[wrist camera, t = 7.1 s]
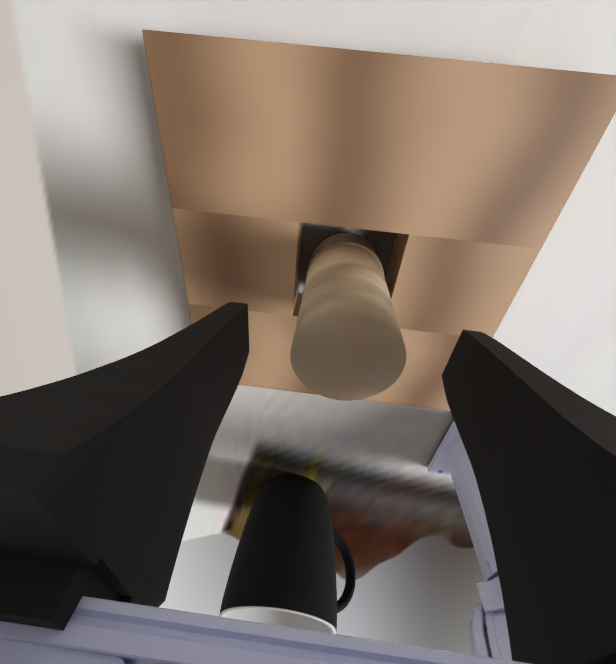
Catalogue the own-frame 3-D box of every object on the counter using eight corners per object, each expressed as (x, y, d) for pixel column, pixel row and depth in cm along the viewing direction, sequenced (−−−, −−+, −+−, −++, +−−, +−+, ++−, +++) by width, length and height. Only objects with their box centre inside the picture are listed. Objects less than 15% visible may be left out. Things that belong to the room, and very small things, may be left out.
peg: (386, 232, 15) (426, 320, 8) (369, 295, 17) (388, 408, 10) (315, 221, 15) (294, 300, 8) (306, 286, 17) (284, 392, 10)
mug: (236, 492, 32) (200, 621, 24) (278, 455, 27) (252, 598, 19) (327, 529, 35) (324, 654, 27) (378, 501, 30) (394, 642, 22)
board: (581, 86, 11) (634, 77, 9) (441, 382, 21) (452, 411, 19) (176, 46, 12) (141, 29, 10) (214, 355, 21) (200, 379, 19)
